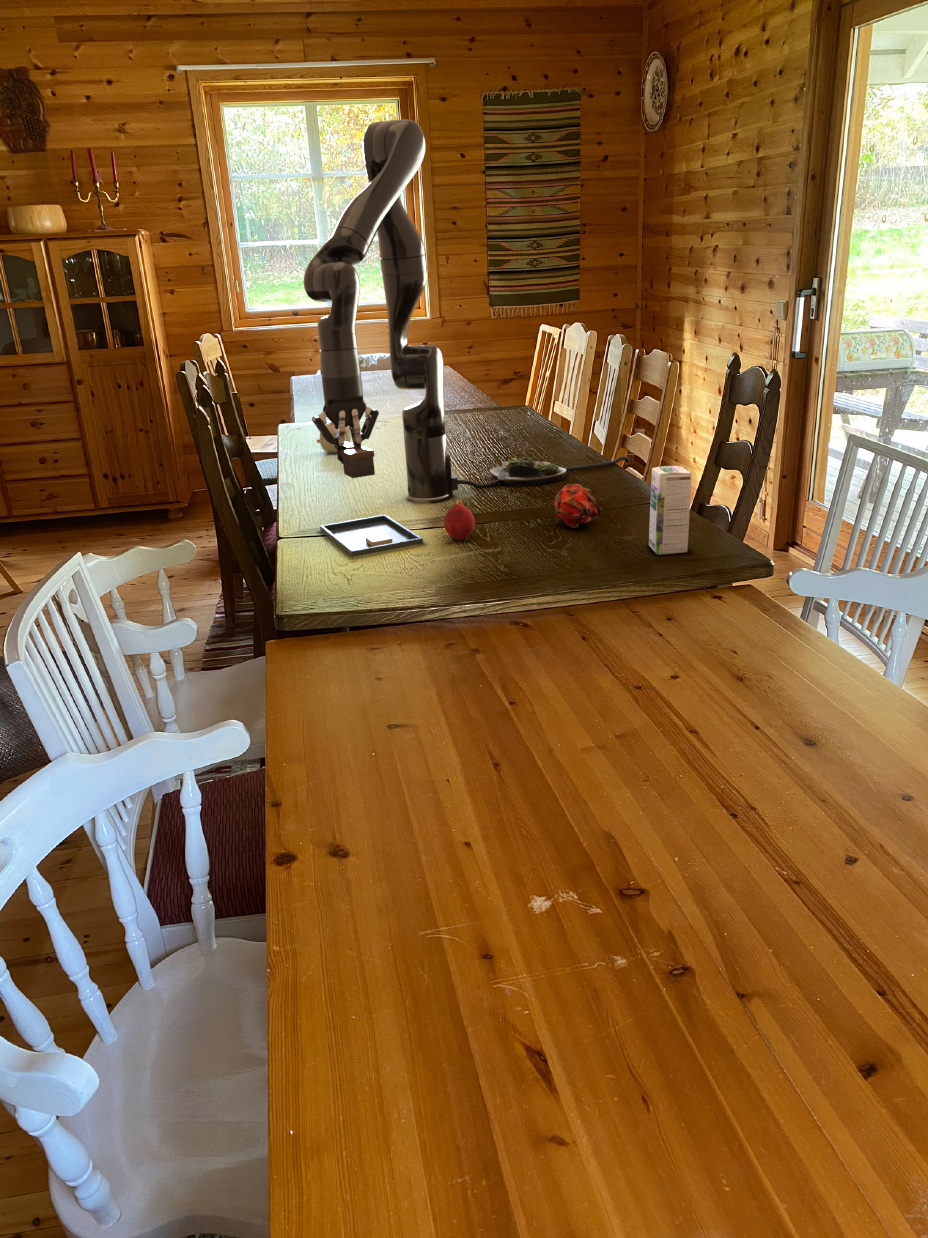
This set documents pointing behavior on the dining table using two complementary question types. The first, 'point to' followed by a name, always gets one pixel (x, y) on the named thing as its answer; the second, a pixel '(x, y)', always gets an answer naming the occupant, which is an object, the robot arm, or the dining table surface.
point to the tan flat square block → (378, 540)
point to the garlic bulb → (328, 446)
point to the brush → (357, 461)
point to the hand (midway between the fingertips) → (350, 462)
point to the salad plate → (527, 472)
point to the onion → (459, 521)
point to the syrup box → (669, 510)
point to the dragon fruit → (575, 505)
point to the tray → (369, 534)
